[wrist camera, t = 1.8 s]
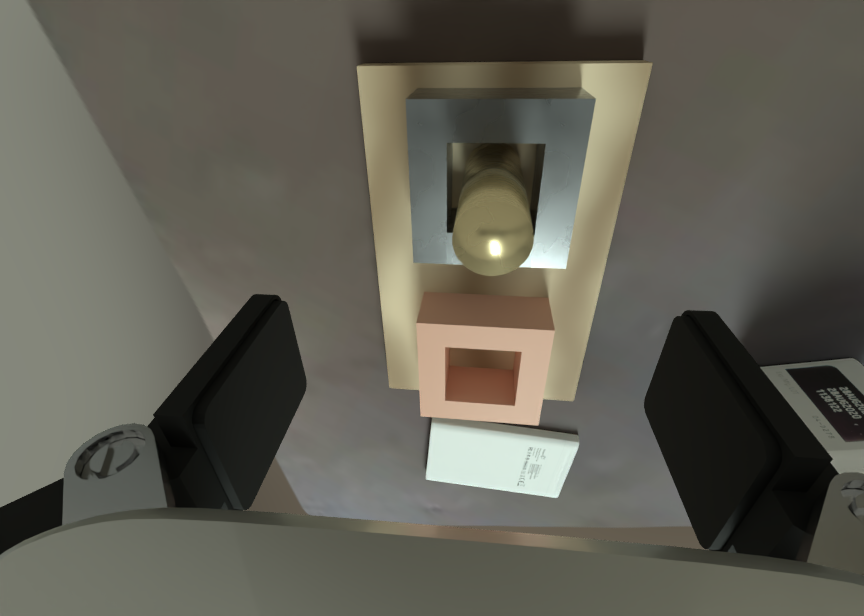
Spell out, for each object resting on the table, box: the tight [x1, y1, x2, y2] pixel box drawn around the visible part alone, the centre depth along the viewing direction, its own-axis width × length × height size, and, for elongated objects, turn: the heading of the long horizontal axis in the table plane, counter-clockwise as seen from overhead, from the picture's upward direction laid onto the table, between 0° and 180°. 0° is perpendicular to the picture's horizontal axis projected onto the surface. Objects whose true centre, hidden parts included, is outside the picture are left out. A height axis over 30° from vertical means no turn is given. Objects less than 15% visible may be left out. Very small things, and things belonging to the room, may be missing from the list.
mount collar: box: [405, 87, 596, 269], centre depth 22 cm, size 8×8×4 cm
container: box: [760, 358, 864, 474], centre depth 26 cm, size 8×8×13 cm
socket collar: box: [416, 292, 555, 425], centre depth 29 cm, size 8×8×4 cm
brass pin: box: [452, 143, 534, 276], centre depth 20 cm, size 3×3×9 cm
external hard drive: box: [426, 417, 579, 498], centre depth 39 cm, size 2×8×12 cm
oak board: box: [357, 60, 653, 401], centre depth 27 cm, size 14×22×2 cm, turn 1°
